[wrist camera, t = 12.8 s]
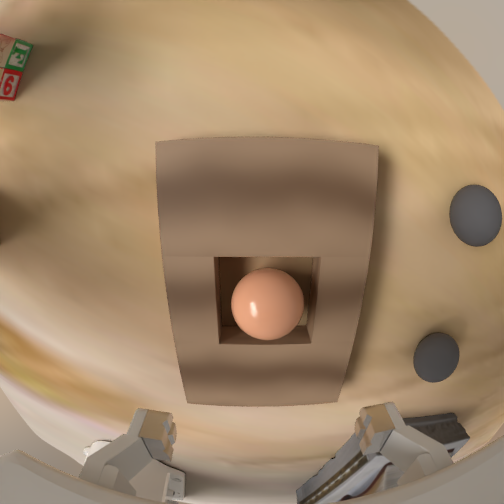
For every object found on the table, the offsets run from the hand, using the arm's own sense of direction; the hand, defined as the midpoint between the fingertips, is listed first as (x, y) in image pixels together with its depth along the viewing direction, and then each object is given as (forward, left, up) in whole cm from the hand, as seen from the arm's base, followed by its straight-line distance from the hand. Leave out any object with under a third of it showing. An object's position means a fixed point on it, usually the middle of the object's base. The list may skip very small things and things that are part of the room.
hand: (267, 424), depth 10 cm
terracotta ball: (+1, 0, -10) cm, 10 cm away
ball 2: (+7, -17, -10) cm, 21 cm away
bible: (-32, -19, -13) cm, 40 cm away
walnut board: (+1, 0, -12) cm, 12 cm away
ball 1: (-6, -17, -10) cm, 21 cm away
